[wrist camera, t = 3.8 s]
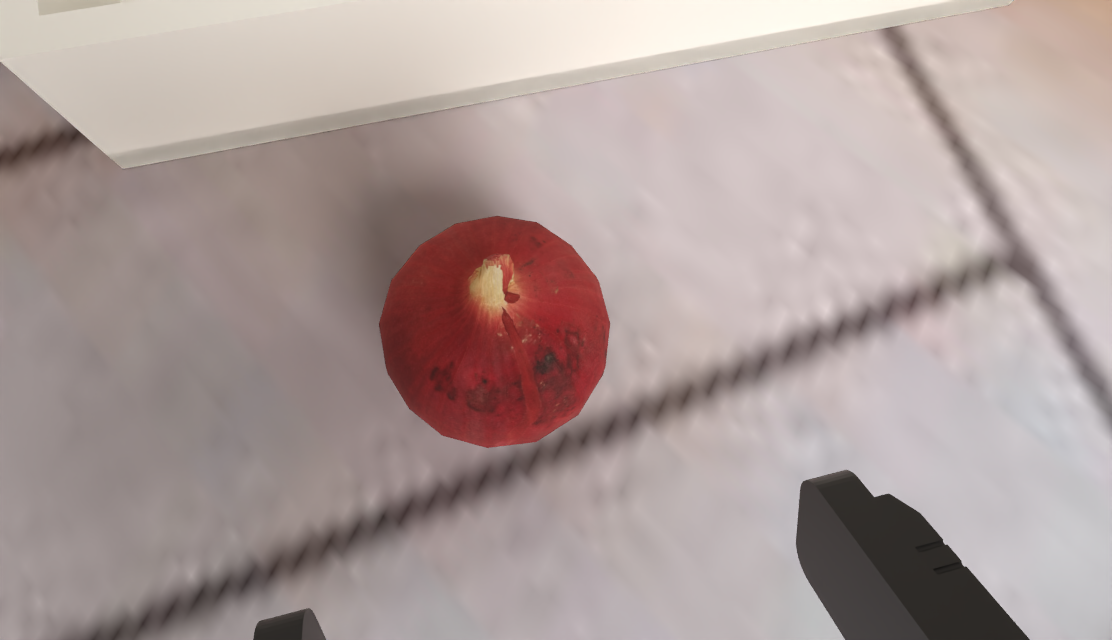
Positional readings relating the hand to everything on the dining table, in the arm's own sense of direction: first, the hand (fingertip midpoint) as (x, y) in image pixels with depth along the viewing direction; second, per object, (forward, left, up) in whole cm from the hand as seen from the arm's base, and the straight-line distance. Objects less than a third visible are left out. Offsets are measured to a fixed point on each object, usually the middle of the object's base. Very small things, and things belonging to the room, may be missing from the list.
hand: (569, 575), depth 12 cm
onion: (0, +6, -10) cm, 12 cm away
